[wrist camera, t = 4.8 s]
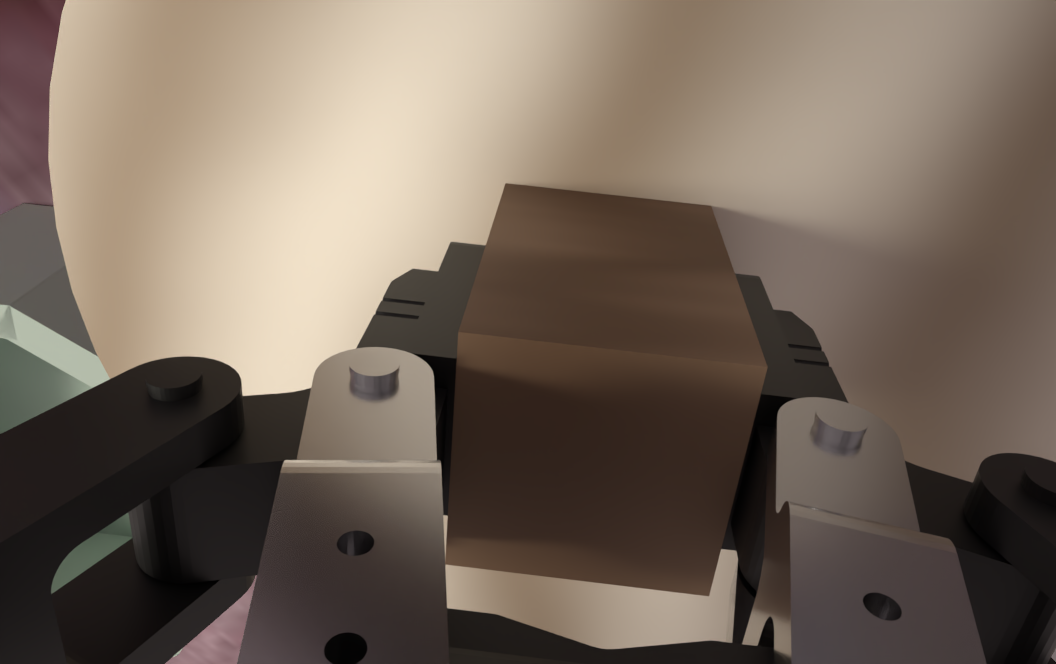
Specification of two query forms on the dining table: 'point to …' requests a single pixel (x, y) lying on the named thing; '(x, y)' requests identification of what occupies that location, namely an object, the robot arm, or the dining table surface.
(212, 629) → the dining table surface
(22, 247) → the bowl
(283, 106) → the lid
